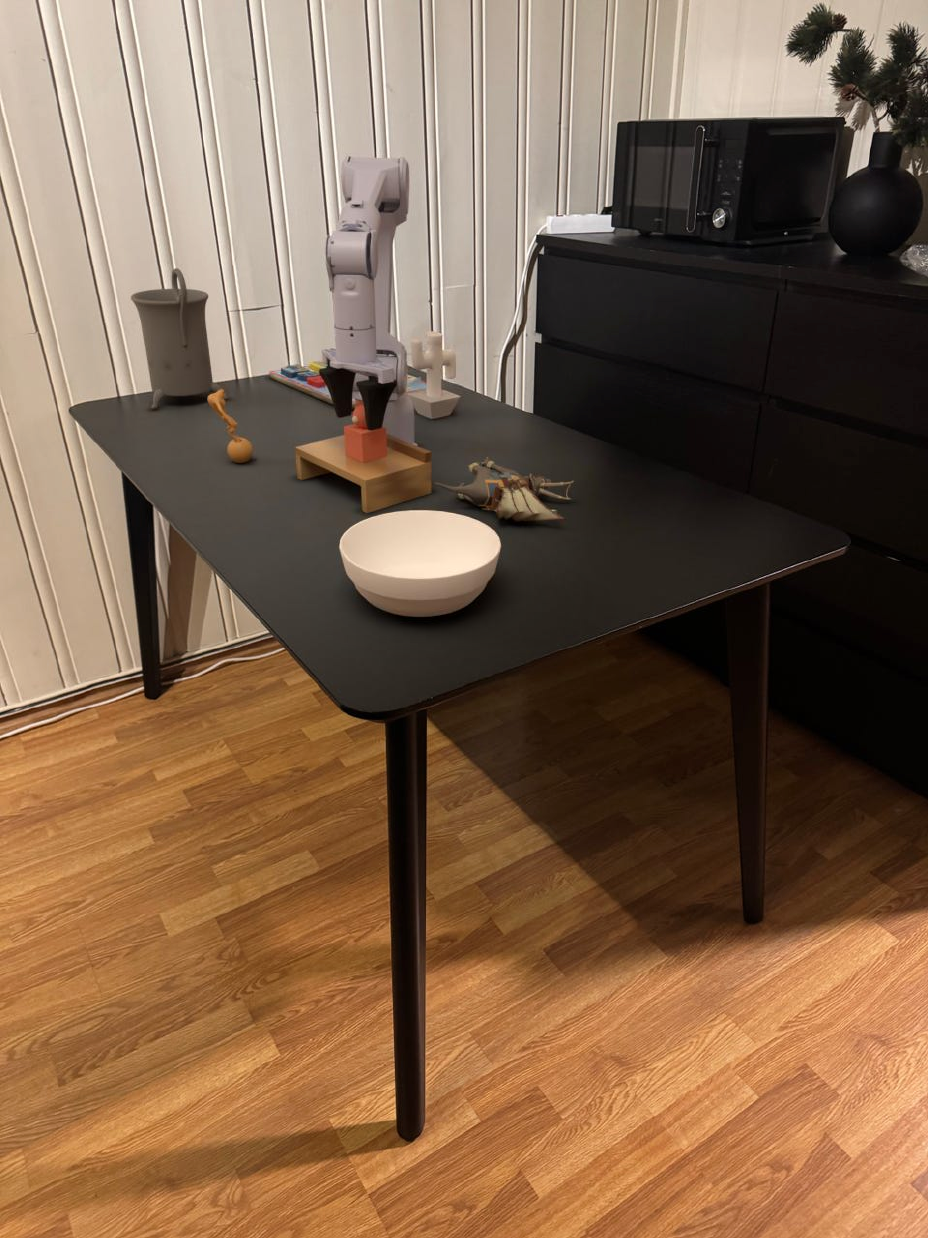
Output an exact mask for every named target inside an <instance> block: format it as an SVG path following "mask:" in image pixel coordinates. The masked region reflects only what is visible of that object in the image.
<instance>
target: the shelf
mask: <svg viewBox="0 0 928 1238" xmlns="http://www.w3.org/2000/svg"><path fill="white" fill-rule="evenodd" d="M353 424H355V423H353ZM386 448H387V457H383V458H379V459H376V460H372V461H368V462H365V463H362V462H360V461H358V460H355V459H353V458H351V457H349V456H346V455H345V437H344V434H343V435H339V436H335V437H329V438H327V439H326V438H325V439H323V440H318V441H314V442H310V443H306V444H303V445H298V446H295V447H294V452H295V462H296V476H297V477H296V478H297V479H298V480H300V481H304V480H309V479H311V478H314V477H318V476H322V475H326V474H330V473H333V474H335V475H337V476H339V477H342V478H343V479H345V480H347V481H350V482H352V483H354V484H355V485H358V486H360V489H361V490H360V491H361V511H362V512H364V513H366V514H370V513H373V512H376V511H380V510H382V509H385V508H386V509H387V508H388V507H392V506H396V505H398V504H401V503H405V502H408V501H411V500H414V499H417V498H421V497H423V496H426V495H430V494H432V450H428V449H426V448H423V447H420V446H418V445H417V446H416V445H414V444H411V443H409V442H406V441H404V440H401V439H399V438H396V437H394V436H391V435H389V434H386Z"/></svg>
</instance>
